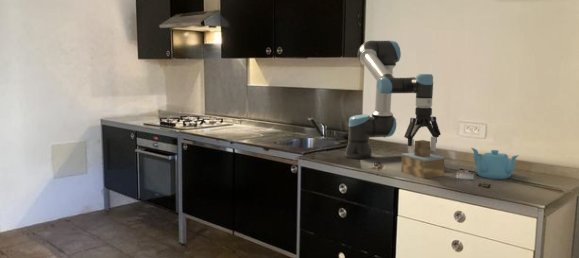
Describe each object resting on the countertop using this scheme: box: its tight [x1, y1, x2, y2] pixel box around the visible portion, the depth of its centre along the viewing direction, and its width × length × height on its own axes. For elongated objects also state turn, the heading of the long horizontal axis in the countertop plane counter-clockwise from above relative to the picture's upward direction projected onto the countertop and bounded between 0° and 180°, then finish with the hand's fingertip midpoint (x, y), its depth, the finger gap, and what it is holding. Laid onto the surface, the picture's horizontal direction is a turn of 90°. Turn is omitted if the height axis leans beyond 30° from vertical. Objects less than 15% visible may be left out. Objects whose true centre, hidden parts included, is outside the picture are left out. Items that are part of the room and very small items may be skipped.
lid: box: [400, 151, 446, 162], centre depth 233 cm, size 17×12×1 cm
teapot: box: [470, 147, 520, 180], centre depth 229 cm, size 17×19×12 cm
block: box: [414, 139, 431, 157], centre depth 232 cm, size 5×5×7 cm
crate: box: [400, 156, 446, 179], centre depth 234 cm, size 16×12×8 cm
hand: (422, 151), depth 233 cm, fingers open, 13 cm apart
